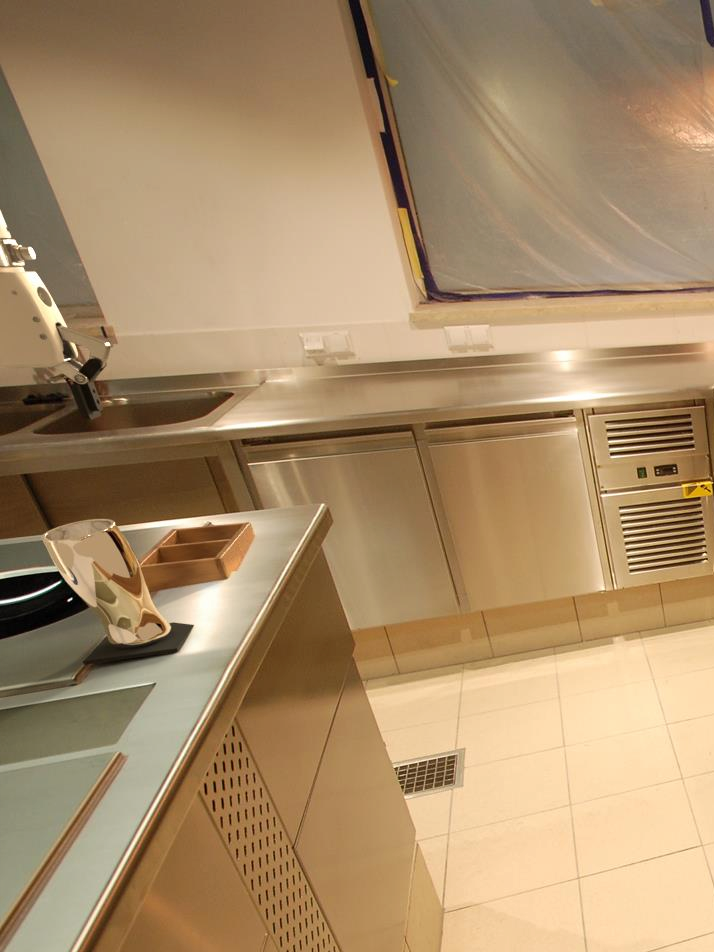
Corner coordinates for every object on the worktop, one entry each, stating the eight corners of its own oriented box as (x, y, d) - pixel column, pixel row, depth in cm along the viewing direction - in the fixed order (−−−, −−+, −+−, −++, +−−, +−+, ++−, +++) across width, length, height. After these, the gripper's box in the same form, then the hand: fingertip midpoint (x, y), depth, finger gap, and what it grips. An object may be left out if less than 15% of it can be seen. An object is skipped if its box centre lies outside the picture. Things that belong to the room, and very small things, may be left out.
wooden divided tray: (143, 600, 120) (129, 568, 118) (183, 558, 135) (171, 529, 133) (232, 590, 124) (220, 558, 122) (260, 550, 140) (250, 521, 137)
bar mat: (83, 665, 102) (82, 661, 102) (113, 633, 110) (111, 630, 110) (178, 651, 106) (176, 648, 105) (200, 622, 114) (198, 619, 113)
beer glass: (91, 647, 105) (22, 538, 97) (149, 620, 111) (88, 515, 103) (134, 654, 104) (67, 544, 96) (190, 626, 109) (131, 520, 102)
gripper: (90, 258, 96) (145, 411, 103) (-126, 253, 89) (-50, 417, 96) (61, 259, 90) (123, 422, 97) (-172, 254, 83) (-88, 429, 90)
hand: (37, 419), depth 96 cm, fingers open, 9 cm apart
